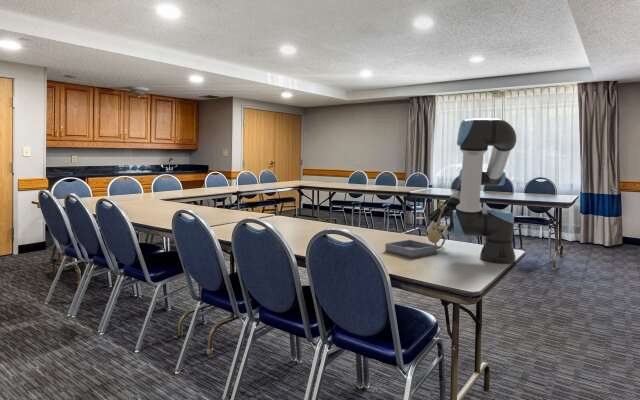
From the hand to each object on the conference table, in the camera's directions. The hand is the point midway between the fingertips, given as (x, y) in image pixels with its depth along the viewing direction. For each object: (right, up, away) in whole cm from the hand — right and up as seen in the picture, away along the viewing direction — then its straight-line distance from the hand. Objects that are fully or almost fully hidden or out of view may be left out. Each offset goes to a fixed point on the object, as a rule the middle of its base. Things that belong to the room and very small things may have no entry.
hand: (435, 233), depth 218 cm
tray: (-15, -9, -9) cm, 19 cm away
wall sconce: (+2, -8, +3) cm, 9 cm away
